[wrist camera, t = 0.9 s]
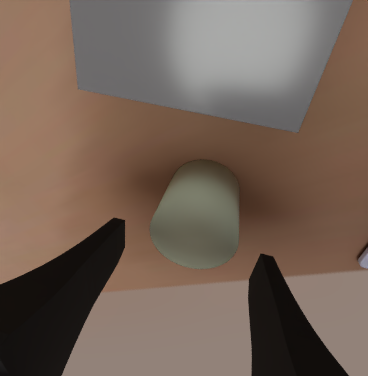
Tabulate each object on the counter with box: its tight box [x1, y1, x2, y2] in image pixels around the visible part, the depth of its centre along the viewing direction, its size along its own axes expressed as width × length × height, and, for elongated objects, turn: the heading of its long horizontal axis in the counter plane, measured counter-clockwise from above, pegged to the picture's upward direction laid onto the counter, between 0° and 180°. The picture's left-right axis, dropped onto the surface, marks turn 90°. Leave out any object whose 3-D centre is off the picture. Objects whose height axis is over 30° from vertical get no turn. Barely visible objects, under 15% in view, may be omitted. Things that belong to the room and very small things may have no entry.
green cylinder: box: [150, 160, 240, 269], centre depth 16 cm, size 5×5×5 cm
